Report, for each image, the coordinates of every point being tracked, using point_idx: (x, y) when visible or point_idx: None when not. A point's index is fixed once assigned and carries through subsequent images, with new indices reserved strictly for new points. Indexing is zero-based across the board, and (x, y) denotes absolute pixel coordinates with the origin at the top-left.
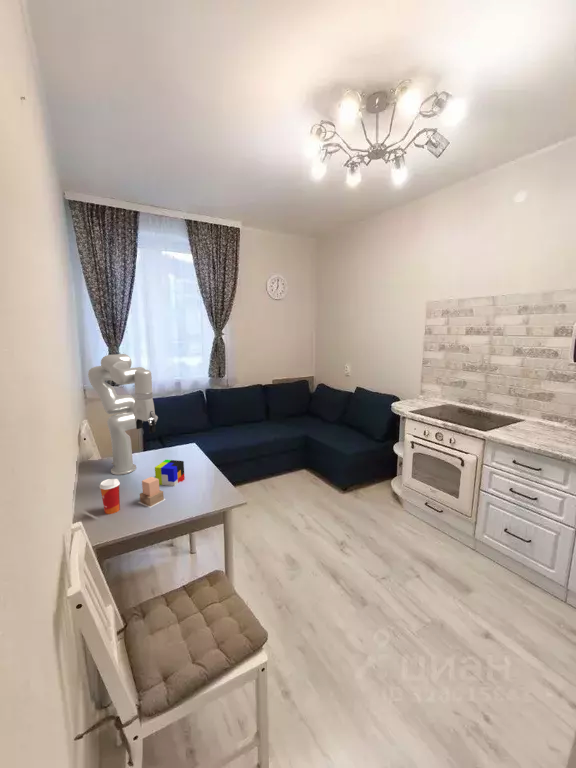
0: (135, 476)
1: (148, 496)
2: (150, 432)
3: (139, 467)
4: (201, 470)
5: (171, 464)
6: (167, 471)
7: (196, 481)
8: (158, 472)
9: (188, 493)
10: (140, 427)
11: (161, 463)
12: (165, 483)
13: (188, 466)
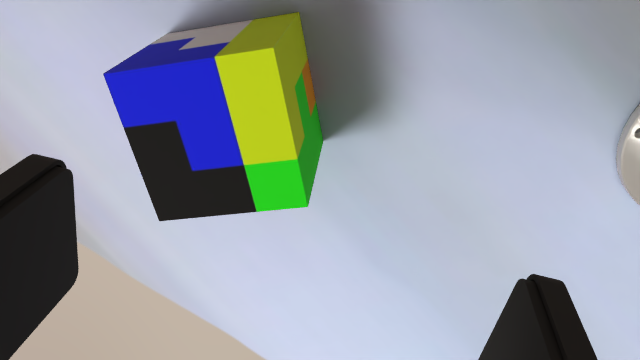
0: (549, 86)
1: None
2: (27, 171)
3: (610, 205)
4: (200, 269)
5: (191, 143)
6: (166, 58)
7: (120, 152)
8: (250, 41)
9: (37, 4)
10: (494, 348)
11: (281, 134)
12: (220, 29)
13: (305, 291)
